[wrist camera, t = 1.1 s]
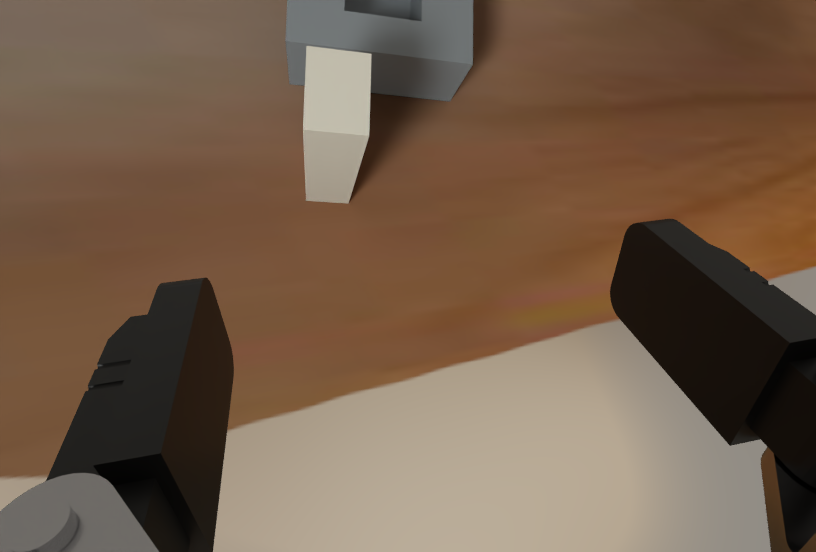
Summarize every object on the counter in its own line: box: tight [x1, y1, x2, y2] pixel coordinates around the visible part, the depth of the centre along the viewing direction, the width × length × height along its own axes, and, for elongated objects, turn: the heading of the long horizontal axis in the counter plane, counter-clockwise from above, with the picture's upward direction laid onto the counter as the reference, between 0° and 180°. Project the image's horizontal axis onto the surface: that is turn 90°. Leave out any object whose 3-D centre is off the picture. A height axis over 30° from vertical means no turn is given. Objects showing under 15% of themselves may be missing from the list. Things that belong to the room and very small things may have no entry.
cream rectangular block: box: [303, 46, 371, 203], centre depth 29 cm, size 3×4×13 cm
